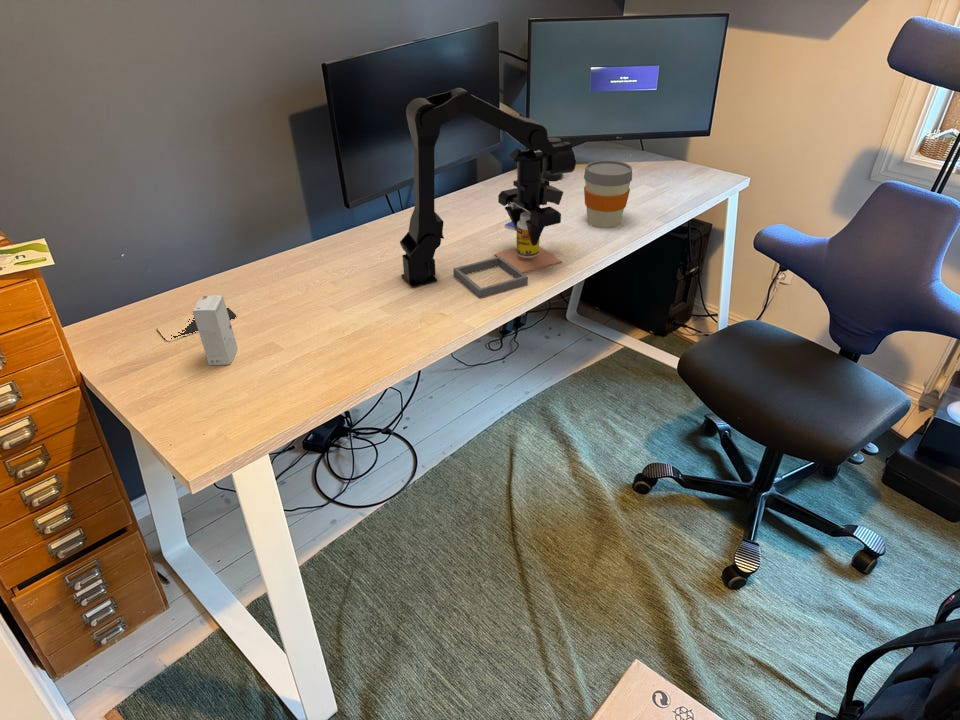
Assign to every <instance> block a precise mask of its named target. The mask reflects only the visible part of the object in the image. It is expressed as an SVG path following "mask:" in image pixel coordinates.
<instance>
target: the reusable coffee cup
mask: <svg viewBox="0 0 960 720" xmlns="http://www.w3.org/2000/svg"><path fill="white" fill-rule="evenodd" d="M583 174H584V175H583V179H584V184H585V185H584V186H583V193H584V205H585V207H586V215H587V216H586V217H587V218H586V219H587V220H586V222H587V223H588V225H590V226H592V227H595V228H598V229H599V228H600V229H612V228H616V227H619V226H620V224H621V222H622V218H623V214H624V209H625V208H626V207H627V205H628V199H629V195H630V192H631V189H630V185H631V182H632V181H633V166H631V165H630V164H628V163H626V162H624V161H623V162H622V161H618V160H609V159H608V160H607V159H606V160H605V159H604V160H597V161H596V160H595V161H591V162H588V163H586V165H585V170H584V173H583Z"/></svg>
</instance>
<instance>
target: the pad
mask: <svg viewBox="0 0 960 720" xmlns="http://www.w3.org/2000/svg"><path fill="white" fill-rule="evenodd" d="M493 254H494V255H495V256H496V257H499V256H500V257H501V258H503V259H504V260H505V261H507V262H508V263H510V264H511V265H512V266H514V267H515V268H516V269H518V270H519V271H521V272H522V273H523V274H526V273H529V272H534V271H538V270H541V269H544V268H548V267H551V266H556V265H559V264H562V262H563V261H562V260H561V259H560V258H558V257H557V256H555V255H554V254H552V253H550V252H549V251H547V250H546V249H545V248H543V247H541V246H540V245H539V253H538V255H537V256H535V257H532V258H523V257H520V256H519V255H517V253H516V247H515V248H511V249H507V250H503V251H499V252H495V253H493ZM494 255H493V256H494ZM495 256H494V257H495Z"/></svg>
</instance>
